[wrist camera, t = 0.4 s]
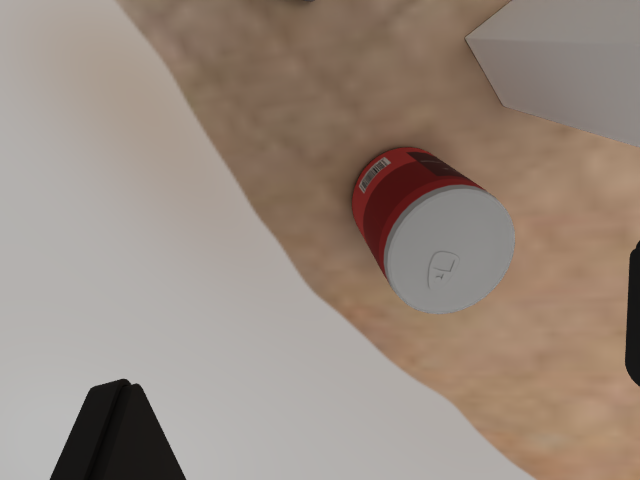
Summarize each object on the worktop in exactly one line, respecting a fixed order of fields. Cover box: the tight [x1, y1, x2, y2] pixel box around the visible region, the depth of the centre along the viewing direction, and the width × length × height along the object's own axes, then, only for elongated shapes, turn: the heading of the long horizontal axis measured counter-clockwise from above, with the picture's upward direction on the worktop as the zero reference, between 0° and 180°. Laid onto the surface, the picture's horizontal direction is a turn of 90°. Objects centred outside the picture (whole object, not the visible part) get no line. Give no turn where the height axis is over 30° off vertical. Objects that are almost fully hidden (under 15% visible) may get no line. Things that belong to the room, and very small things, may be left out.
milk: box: [465, 0, 640, 147], centre depth 25 cm, size 6×6×22 cm
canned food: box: [352, 147, 515, 314], centre depth 33 cm, size 8×8×11 cm
